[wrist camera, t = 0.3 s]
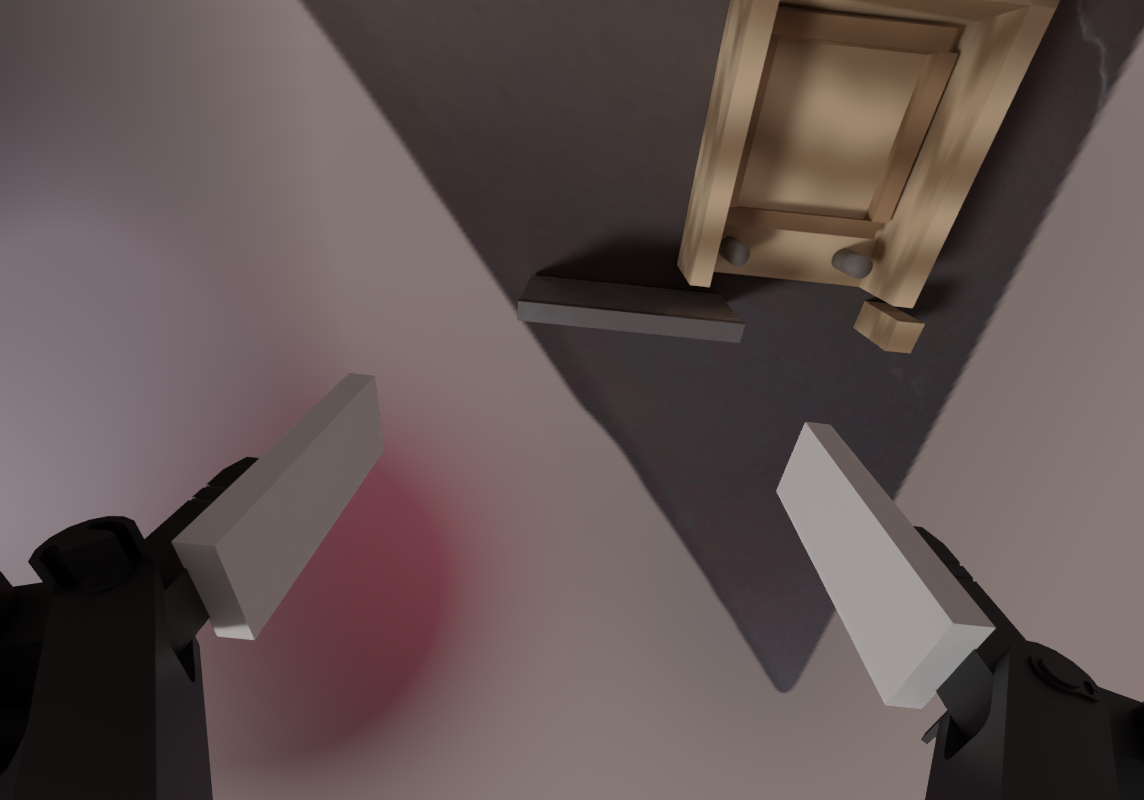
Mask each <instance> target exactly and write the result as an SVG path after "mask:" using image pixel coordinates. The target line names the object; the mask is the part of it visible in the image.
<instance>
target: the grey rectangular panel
mask: <svg viewBox="0 0 1144 800" xmlns="http://www.w3.org/2000/svg"><path fill="white" fill-rule="evenodd" d="M518 320H521V321H531V322H540V323H550V324H560V325H570V326H579V327H589V328H599V329H609V330H618V331H628V332H638V333H648V334H657V335H667V336H677V337H687V338H696V339H706V340H716V341H726V342H735V343H740V340H741V337H742V334H743V330H744V327H745V324H744V322H743V321H741V320H740V319H739V318H738V317H737V315H736V314H735V313H734V312H733V310H732V309H731V308H730V307H729V305H728V304H727V303H726V302H725V300H724V299H723V298H722V297H721V295H720V294H713V293H703V292H694V291H684V290H674V289H664V288H655V287H645V286H635V285H626V284H616V283H606V282H596V281H587V280H577V279H567V278H558V277H548V276H538V275H531V277H530V279H529V281H528V283H527V285H526V287H525V289H524V292H523V294H522V296H521V298H520V299H519V301H518Z"/></svg>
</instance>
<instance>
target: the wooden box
mask: <svg viewBox="0 0 1144 800" xmlns="http://www.w3.org/2000/svg"><path fill="white" fill-rule="evenodd" d="M1059 2H1060V0H730V4H729V9H728V14H727V19H726V24H725V29H724V34H723V39H722V43H721V48H720V53H719V58H718V63H717V68H716V73H715V78H714V83H713V88H712V93H711V98H710V103H709V108H708V113H707V118H706V123H705V128H704V133H703V138H702V143H701V147H700V152H699V157H698V162H697V167H696V172H695V177H694V182H693V187H692V192H691V197H690V202H689V207H688V212H687V217H686V222H685V227H684V232H683V237H682V242H681V247H680V251H679V256H678V261H677V266H678V267H679V269H680V270H681V272H682V273H683V275H684V276H685V278H686V280H687V281H688V283H689V284H690V285H693V286H703V287H710V284H711V280H712V275H713V272H721V273H731V274H741V275H750V276H760V277H770V278H780V279H789V280H799V281H809V282H818V283H828V284H838V285H847V286H857V287H860V288H862V289H864V290H865V291H867V292H869V293H871V294H873V295H874V296H876V297H878V298H880V299H881V300H883V301H885V302H887V303H879V302H869V301H864V304H863V306H862V308H861V311H860V313H859V316H858V318H857V320H856V323H855V325H854V327H853V328H854V329H856V330H857V331H859V332H860V333H861V334H863V335H864V336H865V337H867V338H868V339H870V340H871V341H872V342H874V343H875V344H876V345H878V346H879V347H881V348H882V349H883V350H885V351H893V352H903V353H911V351H912V349H913V347H914V345H915V343H916V341H917V339H918V337H919V335H920V333H921V331H922V329H923V327H924V325H925V324H924V323H922V322H920V321H919V320H917V319H915V318H913V317H911V316H910V315H908V314H906V313H904V312H902V311H901V310H899V309H897V308H895V307H893V306H897V307H907V308H913V307H914V305H915V302H916V300H917V298H918V296H919V294H920V292H921V290H922V288H923V286H924V284H925V282H926V279H927V277H928V275H929V273H930V271H931V269H932V267H933V265H934V263H935V261H936V259H937V256H938V254H939V252H940V250H941V248H942V246H943V244H944V242H945V240H946V238H947V236H948V233H949V231H950V229H951V227H952V225H953V223H954V221H955V219H956V217H957V215H958V213H959V211H960V208H961V206H962V204H963V202H964V200H965V198H966V196H967V194H968V192H969V190H970V188H971V185H972V183H973V181H974V179H975V177H976V175H977V173H978V171H979V169H980V167H981V165H982V162H983V160H984V158H985V156H986V154H987V152H988V150H989V148H990V146H991V144H992V142H993V139H994V137H995V135H996V133H997V131H998V129H999V127H1000V125H1001V123H1002V121H1003V119H1004V117H1005V114H1006V112H1007V110H1008V108H1009V106H1010V104H1011V102H1012V100H1013V98H1014V96H1015V94H1016V91H1017V89H1018V87H1019V85H1020V83H1021V81H1022V79H1023V77H1024V75H1025V73H1026V71H1027V68H1028V66H1029V64H1030V62H1031V60H1032V58H1033V56H1034V54H1035V52H1036V50H1037V48H1038V45H1039V43H1040V41H1041V39H1042V37H1043V35H1044V33H1045V31H1046V29H1047V27H1048V25H1049V23H1050V20H1051V18H1052V16H1053V14H1054V12H1055V10H1056V8H1057V6H1058V4H1059ZM888 303H889V304H888Z"/></svg>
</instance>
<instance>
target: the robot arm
mask: <svg viewBox="0 0 1144 800" xmlns="http://www.w3.org/2000/svg"><path fill="white" fill-rule="evenodd" d="M384 450H385V449H384V441H383V434H382V427H381V419H380V412H379V404H378V397H377V390H376V382H375V376H372V375H362V374H353V373H349V374H348V375H347V376H346V377H345V378H344V379H343V380H341V381H340V383H338V384H337V385H336V386H335V387H334V388H333V389H332V390H331V391H330V392H329V393H328V394H327V395H326V396H325V397H324V398H323V399H322V400H320V401H319V402H318V403H317V404H316V405H315V406H314V407H313V408H312V409H311V410H310V411H309V412H308V413H307V414H306V415H305V416H303V417H302V418H301V419H300V420H299V421H298V422H297V423H296V424H295V425H294V426H293V427H292V428H291V429H290V430H289V431H288V432H287V433H286V434H284V435H283V436H282V437H281V439H279V440H278V441H277V442H276V443H275V444H274V445H273V446H272V447H271V448H270V449H269V450H268V451H267V452H265V453H264V454H263V455H262V456H261V457H260V458H253V457H246V458H244V459H242V460H240V461H238V462H236V463H234V464H232V465H231V466H229V467H227V468H225V469H223V470H222V471H221V472H220V473H219V474H218V475H216V476H215V477H214V478H213V479H212V480H211V481H210V482H209V483H207V485H206V488H202V489H201V490H200V491H198V492H197V493H196V494H195V495H194V496H193V497H192V500H191V501H189V500H188V501H187V502H186V503H185V504H184V505H183V506H181V507H180V508H179V509H178V510H177V511H176V512H175V513H174V514H172V515H171V516H170V517H169V518H168V519H167V520H166V521H165V522H164V523H162V524H161V525H160V526H159V527H158V528H157V529H156V530H154V531H153V532H152V533H151V534H150V535H149V536H148V537H147V538H145V539H144V538H143V536H142V534H141V532H140V530H139V529H138V527H137V525H136V523H135V521H134V520H131V519H129V518H127V517H124V516H107V517H102V518H96V519H91V520H87V521H85V522H82V523H79V524H77V525H74V526H71V527H69V528H66V529H65V530H63V531H61V532H59V533H57V534H56V535H54V536H52V537H50V538H49V539H48V540H46V541H45V542H44V543H43V544H42V545H40V546H39V547H38V548H37V549H36V550H35V551H34V553H33V554H32V556H31V558H30V559H29V561H28V562H29V564H30V565H31V566H32V568H33V569H34V571H35V572H36V573H37V575H38V576H39V577H40V579H41V580H42V581H43V582H42V583H35V584H28V585H22V586H15V587H13V586H12V585H11V584H10V583H9V581H8V580H7V579H6V577H5V576H4V575H3V574H2V572H0V800H213V796H212V785H211V773H210V762H209V750H208V739H207V728H206V715H205V705H204V692H203V681H202V669H201V658H200V647H199V643H198V641H197V639H196V637H195V635H196V634H197V632H198V631H199V630H200V629H201V628H202V626H203V625H204V624H205V623H206V621H207V620H208V619H209V620H210V622H211V624H212V626H213V628H214V630H215V633H216V634H217V636H220V637H230V638H240V639H249V640H255V639H256V637H257V635H258V634H259V633H260V631H261V630H262V628H263V627H264V625H265V624H266V623H267V621H268V620H269V618H270V616H271V615H272V613H273V612H274V611H275V609H276V608H277V606H278V605H279V603H280V602H281V601H282V599H283V598H284V596H285V595H286V593H287V592H288V590H289V589H290V587H291V586H292V584H293V583H294V581H295V580H296V578H297V577H298V576H299V574H300V573H301V571H302V570H303V568H304V567H305V565H306V564H307V562H308V561H309V560H310V558H311V556H312V555H313V554H314V552H315V551H316V549H317V548H318V546H319V545H320V543H321V542H322V540H323V539H324V538H325V536H326V534H327V533H328V532H329V530H330V529H331V527H332V526H333V524H334V523H335V521H336V520H337V519H338V517H339V516H340V514H341V513H342V511H343V510H344V508H345V506H346V505H347V504H348V502H349V501H350V499H351V498H352V497H353V495H354V494H355V492H356V491H357V489H358V488H359V486H360V485H361V483H362V482H363V480H364V479H365V477H366V476H367V474H368V473H369V472H370V470H371V469H372V467H373V466H374V464H375V462H376V461H377V460H378V458H379V457H380V455H381V454H382V453H383V451H384ZM777 493H778V495H779V497H780V499H781V501H782V503H783V505H784V507H785V509H786V511H787V513H788V515H789V517H790V519H791V521H792V523H793V525H794V527H795V529H796V531H797V533H798V535H799V537H800V539H801V541H802V543H803V545H804V547H805V548H806V550H807V552H808V554H809V556H810V558H811V560H812V562H813V564H814V566H815V568H816V570H817V572H818V574H819V576H820V578H821V580H822V582H823V584H824V586H825V588H826V590H827V592H828V594H829V596H830V598H831V600H832V602H833V604H834V605H835V607H836V609H837V611H838V613H839V615H840V617H841V619H842V621H843V623H844V625H845V627H846V629H847V631H848V633H849V635H850V637H851V639H852V641H853V642H854V644H855V647H856V649H857V651H858V652H859V655H860V656H861V658H862V660H863V662H864V664H865V666H866V668H867V670H868V672H869V674H870V676H871V678H872V680H873V682H874V684H875V686H876V688H877V690H878V692H879V694H880V696H881V698H882V700H883V702H884V704H885V705H889V706H898V707H908V708H918V709H922V708H923V707H924V706H925V705H926V704H927V703H928V701H929V700H930V699H931V698H932V697H933V696H934V695H935V694H936V693H937V694H938V695H939V697H940V698H941V700H942V702H943V703H944V705H945V707H946V708H947V711H946V712H945V713H944V714H943V715H942V716H941V717H940V718H939V719H938V720H937V721H936V723H934V725H932V727H931V728H930V729H929V730H928V731H927V732H926V733H925V734H924V736H923V738H922V741H924V742H925V743H926V744H928V743H929V742H930V741H931V740H932V739H933V738H934V737H936V743H935V749H934V754H933V759H932V765H931V770H930V775H929V781H928V787H927V792H926V798H925V800H1144V702H1139V701H1136V700H1134V699H1131V698H1128V697H1125V696H1122V695H1119V694H1117V693H1114V692H1111V691H1109V690H1106V689H1103V688H1100V687H1098V686H1097V685H1096V684H1095V682H1094V681H1093V680H1092V679H1091V677H1090V676H1089V675H1088V674H1087V673H1085V672H1084V671H1083V670H1082V669H1081V668H1080V667H1078V666H1077V665H1076V664H1075V663H1074V662H1072V661H1071V660H1069V659H1068V658H1066V657H1064V656H1063V655H1061V654H1060V653H1058V652H1057V651H1055V650H1053V649H1051V648H1048V647H1046V646H1044V645H1041V644H1039V643H1036V642H1031V641H1026V640H1025V638H1024V637H1023V636H1022V635H1021V634H1020V632H1019V631H1018V630H1017V629H1016V628H1015V626H1014V625H1013V624H1012V623H1011V622H1010V621H1009V620H1008V618H1007V617H1006V616H1005V615H1004V614H1003V613H1002V611H1001V610H1000V609H999V608H998V607H997V605H996V604H995V603H994V602H993V601H992V600H991V598H990V597H989V596H988V595H987V594H986V593H985V591H984V590H983V589H982V588H981V587H980V586H979V585H978V584H977V582H973V577H972V576H971V575H970V574H969V573H968V572H967V570H966V569H965V568H964V567H963V566H960V564H959V563H960V562H959V561H958V560H957V559H956V558H955V556H954V555H953V554H952V553H951V552H950V551H949V549H948V548H947V547H946V546H945V545H944V544H943V543H942V542H941V541H939V540H938V539H937V538H935V537H934V536H933V535H932V534H930V533H929V532H928V531H926V530H925V529H924V528H922V527H916V526H912V524H911V523H910V522H909V521H908V520H907V518H906V517H905V516H904V515H903V513H902V512H901V511H900V510H899V508H898V507H897V506H896V505H895V503H894V502H893V501H892V500H891V499H890V497H889V496H888V495H887V494H886V492H885V491H884V490H883V489H882V488H881V486H880V485H879V484H878V483H877V481H876V480H875V479H874V478H873V476H872V475H871V474H870V473H869V472H868V470H867V469H866V468H865V467H864V465H863V464H862V463H861V462H860V461H859V459H858V458H857V457H856V456H855V454H854V453H853V452H852V451H851V450H850V448H849V447H848V446H847V445H846V443H845V442H844V441H843V440H842V438H841V437H840V436H839V435H838V434H837V432H836V431H835V430H834V429H833V427H832V426H831V425H828V424H819V423H810V422H805V424H804V426H803V429H802V431H801V433H800V436H799V438H798V441H797V443H796V445H795V448H794V450H793V453H792V455H791V457H790V460H789V462H788V464H787V467H786V469H785V472H784V474H783V476H782V479H781V481H780V483H779V486H778V488H777Z"/></svg>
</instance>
